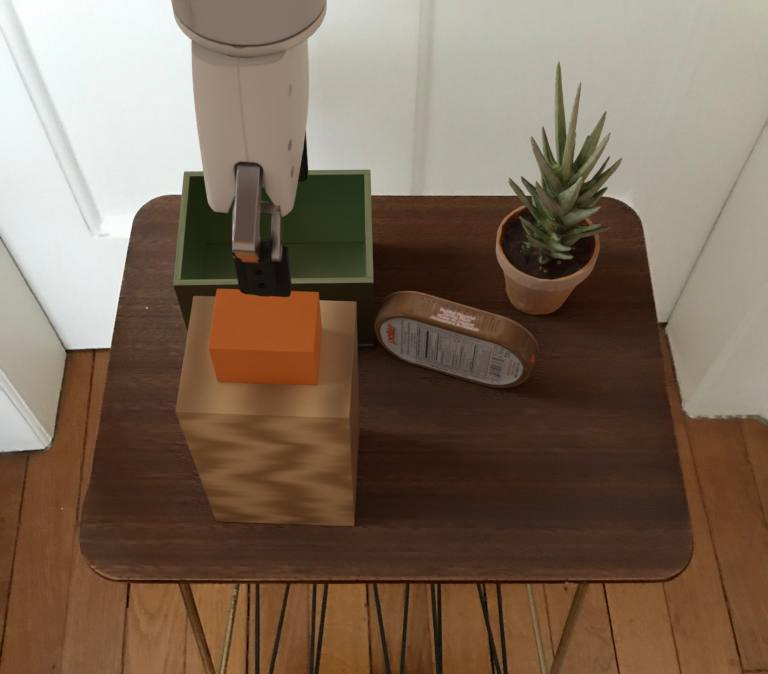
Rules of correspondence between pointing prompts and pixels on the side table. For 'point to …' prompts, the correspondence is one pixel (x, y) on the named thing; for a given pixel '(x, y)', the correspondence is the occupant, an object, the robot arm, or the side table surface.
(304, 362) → the block
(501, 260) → the potted plant
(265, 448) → the wood grain block
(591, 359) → the side table surface
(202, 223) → the trash bin
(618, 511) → the side table surface
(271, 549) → the side table surface
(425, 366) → the tin
